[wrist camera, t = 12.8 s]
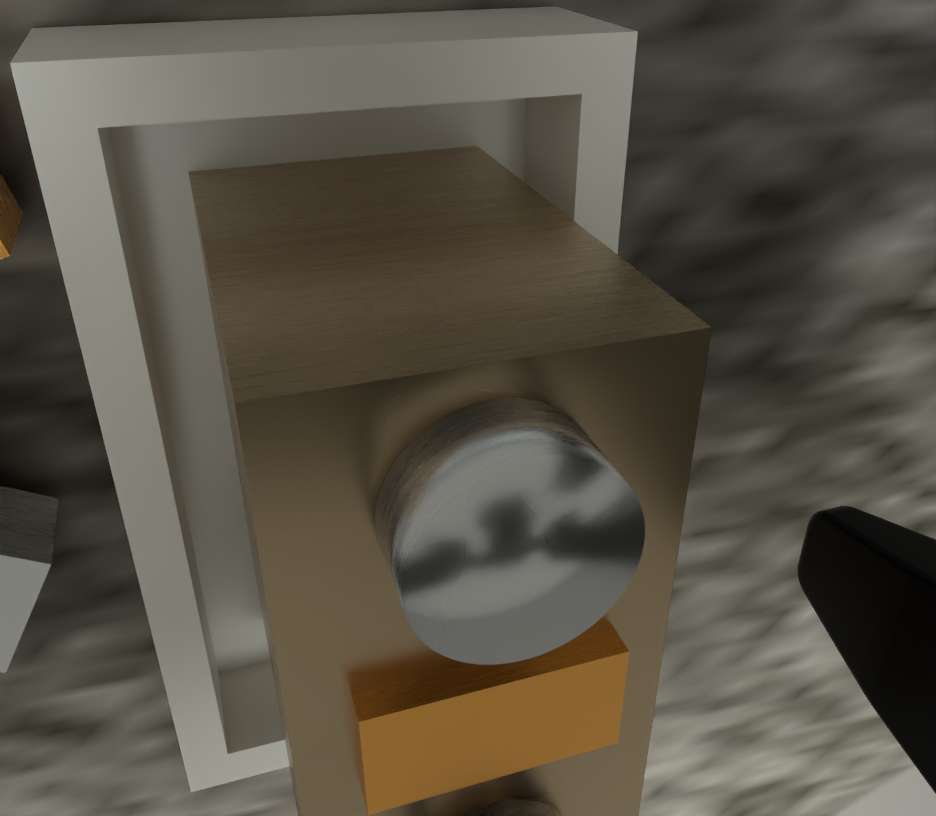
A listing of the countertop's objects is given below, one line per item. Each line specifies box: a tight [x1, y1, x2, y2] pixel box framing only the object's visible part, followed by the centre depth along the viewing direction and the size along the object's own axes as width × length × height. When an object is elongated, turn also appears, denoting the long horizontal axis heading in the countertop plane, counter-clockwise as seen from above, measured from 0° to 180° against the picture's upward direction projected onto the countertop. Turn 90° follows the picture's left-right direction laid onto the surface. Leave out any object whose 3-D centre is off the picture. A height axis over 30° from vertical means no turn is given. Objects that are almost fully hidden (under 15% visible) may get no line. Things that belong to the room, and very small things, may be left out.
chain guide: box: [10, 6, 638, 792], centre depth 12 cm, size 10×6×2 cm, turn 0°
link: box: [188, 146, 712, 816], centre depth 10 cm, size 7×4×6 cm, turn 0°
